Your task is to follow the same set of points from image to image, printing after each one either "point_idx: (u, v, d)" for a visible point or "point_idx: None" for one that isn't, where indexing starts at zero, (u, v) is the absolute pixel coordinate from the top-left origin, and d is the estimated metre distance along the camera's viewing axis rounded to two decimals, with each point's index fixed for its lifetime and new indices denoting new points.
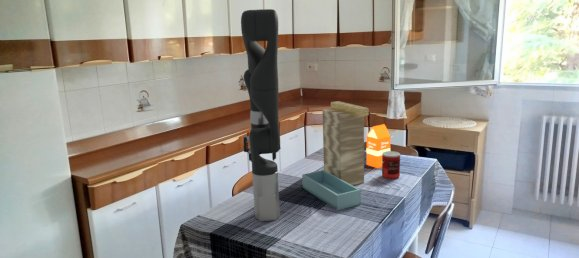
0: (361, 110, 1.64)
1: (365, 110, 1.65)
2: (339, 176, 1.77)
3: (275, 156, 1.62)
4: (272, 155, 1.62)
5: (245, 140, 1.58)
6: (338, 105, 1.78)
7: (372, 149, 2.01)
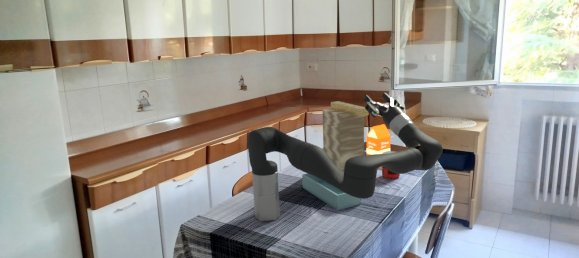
0: (361, 110, 1.64)
1: (365, 110, 1.65)
2: None
3: (366, 98, 1.54)
4: None
5: (402, 105, 1.53)
6: (338, 105, 1.78)
7: (372, 149, 2.01)
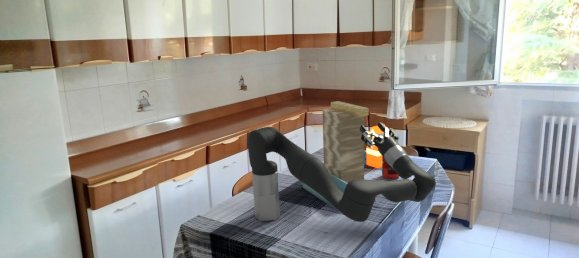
0: (361, 110, 1.64)
1: (365, 110, 1.65)
2: (339, 176, 1.77)
3: (362, 128, 1.59)
4: None
5: (396, 136, 1.58)
6: (338, 105, 1.78)
7: (372, 149, 2.01)
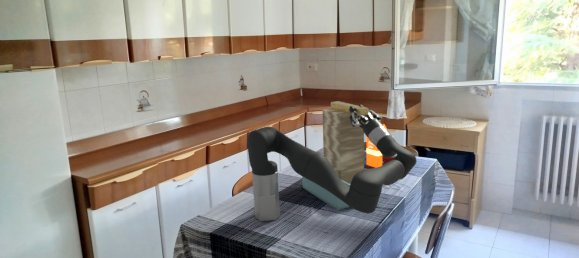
0: (361, 110, 1.64)
1: (365, 110, 1.65)
2: (339, 176, 1.77)
3: (351, 108, 1.67)
4: (354, 109, 1.68)
5: (379, 116, 1.66)
6: (338, 105, 1.78)
7: (372, 149, 2.01)
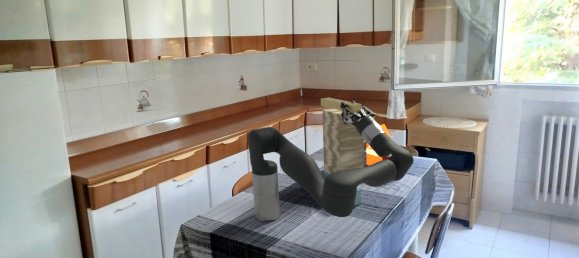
0: (353, 106, 1.51)
1: (358, 106, 1.52)
2: None
3: (342, 105, 1.55)
4: None
5: (372, 113, 1.54)
6: (329, 101, 1.65)
7: (372, 149, 2.01)
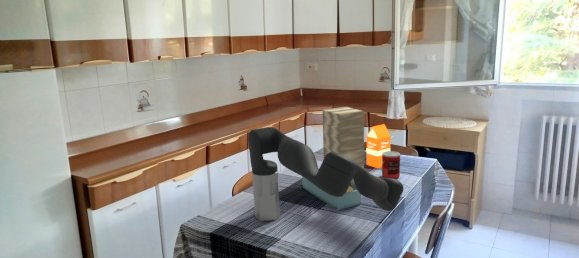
0: None
1: None
2: None
3: None
4: None
5: None
6: None
7: (372, 149, 2.01)
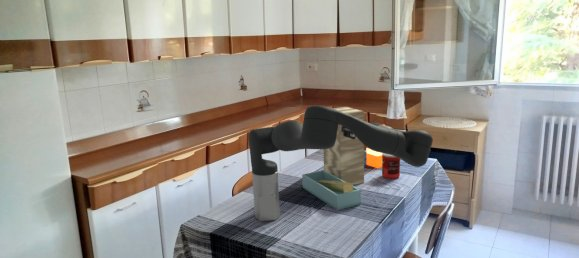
0: (344, 186, 1.56)
1: (348, 185, 1.57)
2: (339, 176, 1.77)
3: (342, 128, 1.45)
4: None
5: None
6: (322, 183, 1.70)
7: None
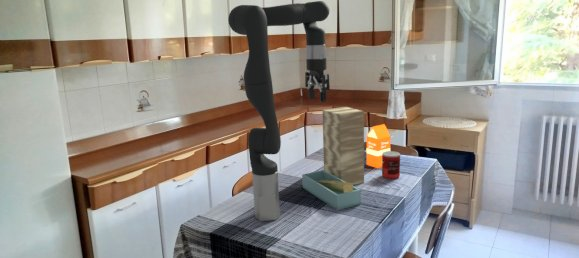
0: (344, 186, 1.56)
1: (348, 185, 1.57)
2: (339, 176, 1.77)
3: (322, 97, 1.53)
4: None
5: (306, 75, 1.61)
6: (322, 183, 1.70)
7: (372, 149, 2.01)
